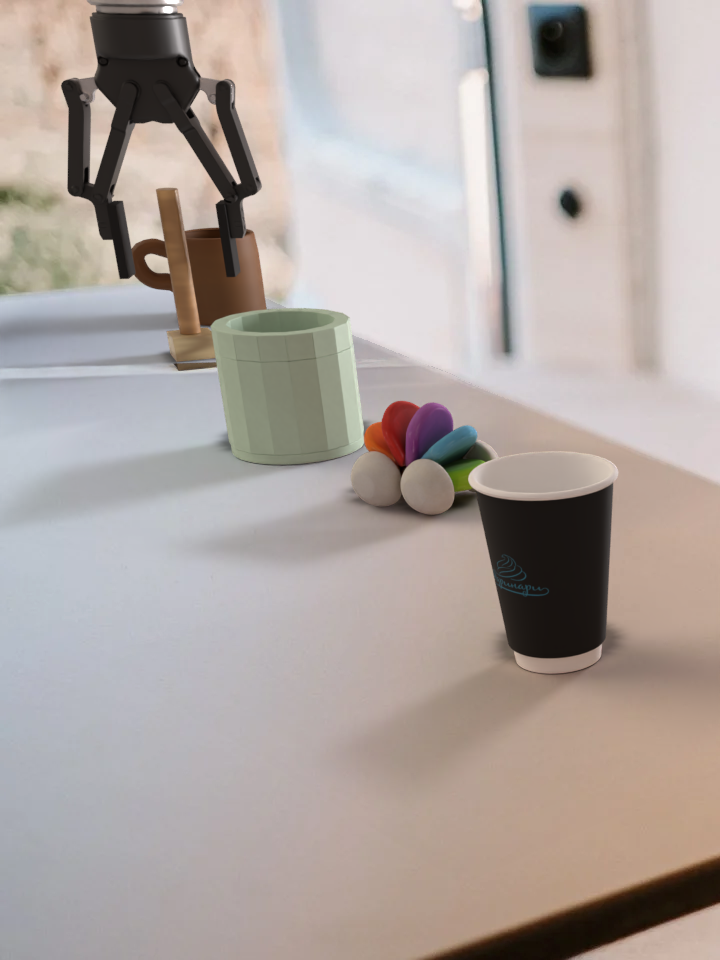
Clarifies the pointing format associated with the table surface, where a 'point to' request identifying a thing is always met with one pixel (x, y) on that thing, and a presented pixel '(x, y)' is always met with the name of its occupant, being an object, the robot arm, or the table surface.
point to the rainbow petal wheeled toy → (417, 458)
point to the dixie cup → (549, 553)
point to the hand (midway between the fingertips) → (181, 275)
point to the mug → (210, 273)
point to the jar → (289, 385)
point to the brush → (182, 289)
